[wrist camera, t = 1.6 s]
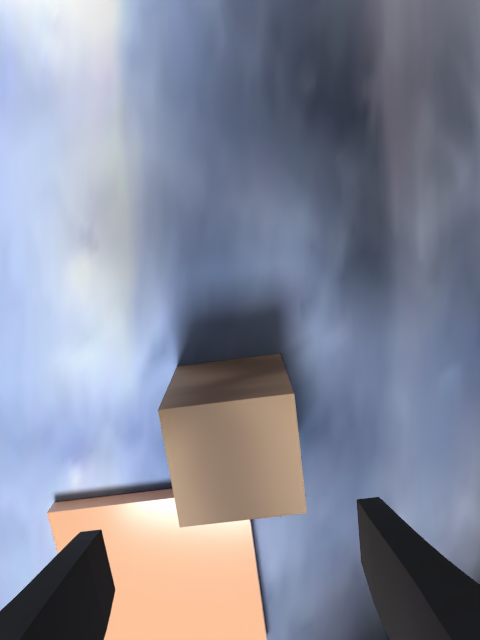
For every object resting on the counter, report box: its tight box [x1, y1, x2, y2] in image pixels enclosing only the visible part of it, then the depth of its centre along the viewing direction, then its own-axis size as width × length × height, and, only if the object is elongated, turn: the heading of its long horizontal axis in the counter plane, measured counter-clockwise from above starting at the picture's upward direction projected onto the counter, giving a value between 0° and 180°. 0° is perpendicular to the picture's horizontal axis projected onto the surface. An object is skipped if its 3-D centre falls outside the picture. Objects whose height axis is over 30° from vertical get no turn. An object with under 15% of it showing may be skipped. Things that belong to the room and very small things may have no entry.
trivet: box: [47, 489, 267, 640], centre depth 22 cm, size 10×10×1 cm
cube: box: [158, 354, 307, 528], centre depth 18 cm, size 5×5×5 cm
